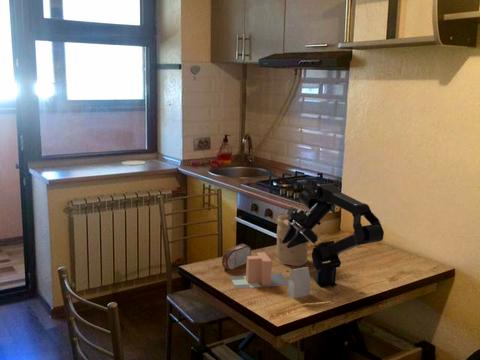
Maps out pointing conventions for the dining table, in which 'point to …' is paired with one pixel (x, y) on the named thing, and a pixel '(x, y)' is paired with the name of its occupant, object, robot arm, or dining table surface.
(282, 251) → the container
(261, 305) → the dining table surface
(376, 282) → the dining table surface
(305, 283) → the grey upright block
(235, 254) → the tin
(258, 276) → the t block
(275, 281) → the board
